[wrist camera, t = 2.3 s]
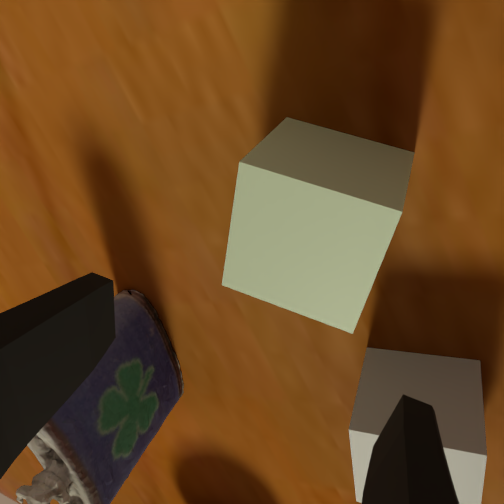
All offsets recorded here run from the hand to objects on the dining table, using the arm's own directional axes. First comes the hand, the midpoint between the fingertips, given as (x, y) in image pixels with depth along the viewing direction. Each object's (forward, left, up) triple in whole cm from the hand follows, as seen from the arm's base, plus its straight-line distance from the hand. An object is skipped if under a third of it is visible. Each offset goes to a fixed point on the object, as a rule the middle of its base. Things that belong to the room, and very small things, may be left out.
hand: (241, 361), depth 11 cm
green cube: (0, 0, -10) cm, 10 cm away
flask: (+8, +14, -10) cm, 19 cm away
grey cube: (-7, +9, -10) cm, 15 cm away
